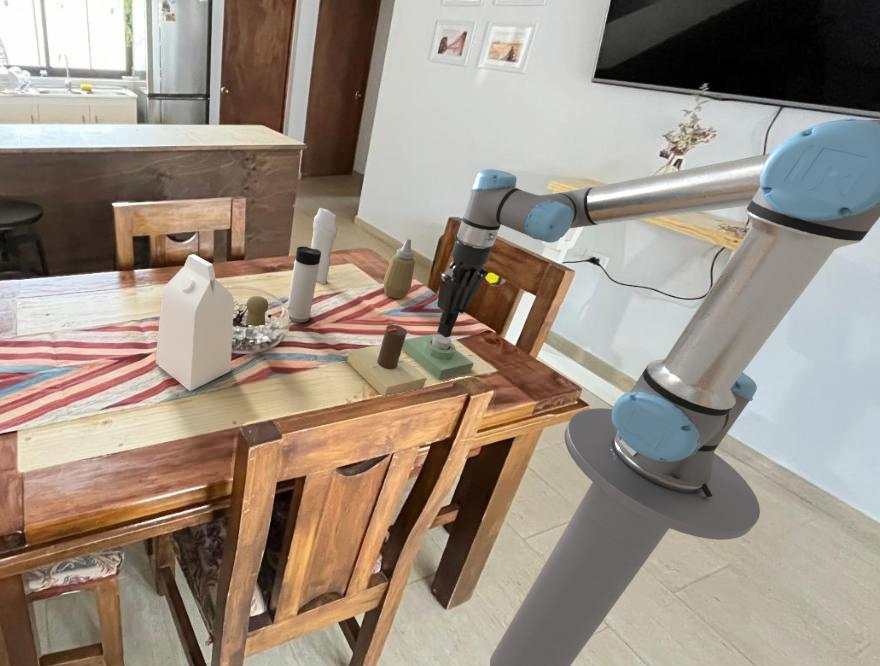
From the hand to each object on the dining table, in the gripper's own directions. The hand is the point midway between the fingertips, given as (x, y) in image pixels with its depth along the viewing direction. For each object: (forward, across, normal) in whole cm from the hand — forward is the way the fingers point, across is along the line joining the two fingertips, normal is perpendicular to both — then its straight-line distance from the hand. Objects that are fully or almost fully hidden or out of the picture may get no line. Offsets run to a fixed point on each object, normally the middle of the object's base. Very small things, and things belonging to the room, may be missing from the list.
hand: (443, 334), depth 122 cm
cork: (+8, -40, +21) cm, 45 cm away
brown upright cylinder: (+4, -16, -1) cm, 17 cm away
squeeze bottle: (+8, +12, +31) cm, 34 cm away
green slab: (+7, 0, 0) cm, 7 cm away
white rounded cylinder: (+8, -6, +47) cm, 48 cm away
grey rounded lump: (+3, 0, 0) cm, 3 cm away
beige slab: (+7, -16, -1) cm, 18 cm away
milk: (+8, -58, +14) cm, 60 cm away
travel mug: (+8, -24, +27) cm, 37 cm away
